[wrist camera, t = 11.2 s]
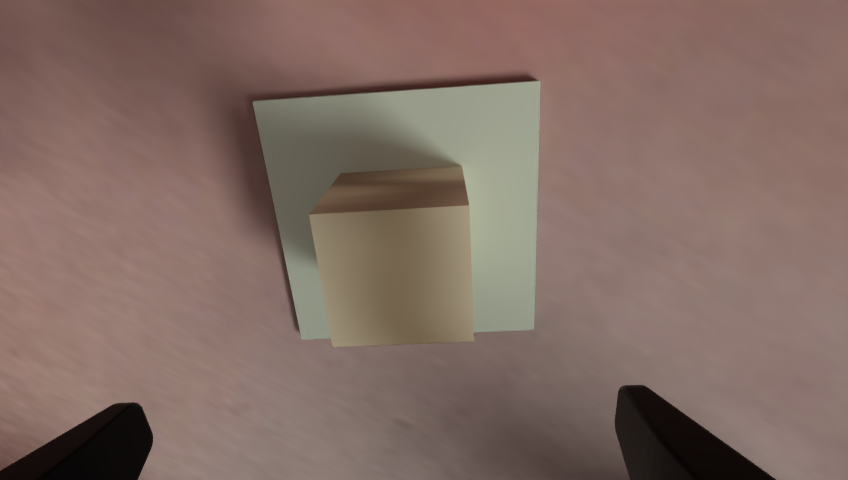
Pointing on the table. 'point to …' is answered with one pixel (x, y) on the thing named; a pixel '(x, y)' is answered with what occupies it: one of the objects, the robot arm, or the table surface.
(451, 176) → the sandy foam cube
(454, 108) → the pad
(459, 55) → the table surface
